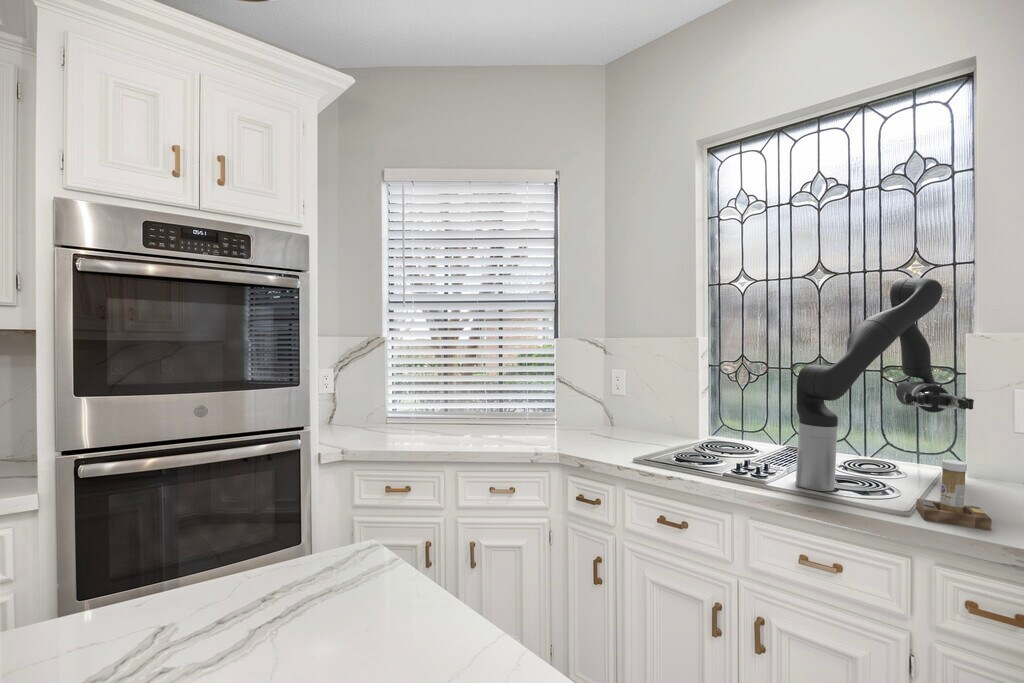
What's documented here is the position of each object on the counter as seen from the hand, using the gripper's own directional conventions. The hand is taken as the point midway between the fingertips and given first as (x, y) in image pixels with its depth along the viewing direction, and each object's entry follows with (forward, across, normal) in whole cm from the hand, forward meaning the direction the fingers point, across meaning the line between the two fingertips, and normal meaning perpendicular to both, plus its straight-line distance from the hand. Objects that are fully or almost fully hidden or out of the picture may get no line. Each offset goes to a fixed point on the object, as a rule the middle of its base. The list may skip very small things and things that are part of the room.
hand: (943, 403), depth 140 cm
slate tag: (+13, -4, +23) cm, 27 cm away
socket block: (+13, +1, +26) cm, 29 cm away
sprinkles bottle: (+13, +1, +26) cm, 29 cm away
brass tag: (+13, +5, +23) cm, 27 cm away
